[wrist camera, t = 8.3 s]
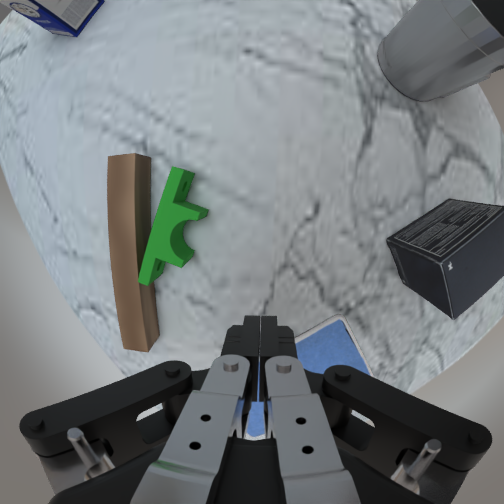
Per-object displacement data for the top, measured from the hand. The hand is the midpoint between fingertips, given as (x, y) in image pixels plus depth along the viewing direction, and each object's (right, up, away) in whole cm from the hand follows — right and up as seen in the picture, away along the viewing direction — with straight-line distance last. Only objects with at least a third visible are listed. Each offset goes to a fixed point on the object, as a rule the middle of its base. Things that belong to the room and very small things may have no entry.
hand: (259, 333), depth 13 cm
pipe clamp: (-7, +6, +16) cm, 18 cm away
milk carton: (-25, +37, +9) cm, 46 cm away
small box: (+20, +5, +15) cm, 25 cm away
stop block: (-13, +4, +16) cm, 21 cm away
